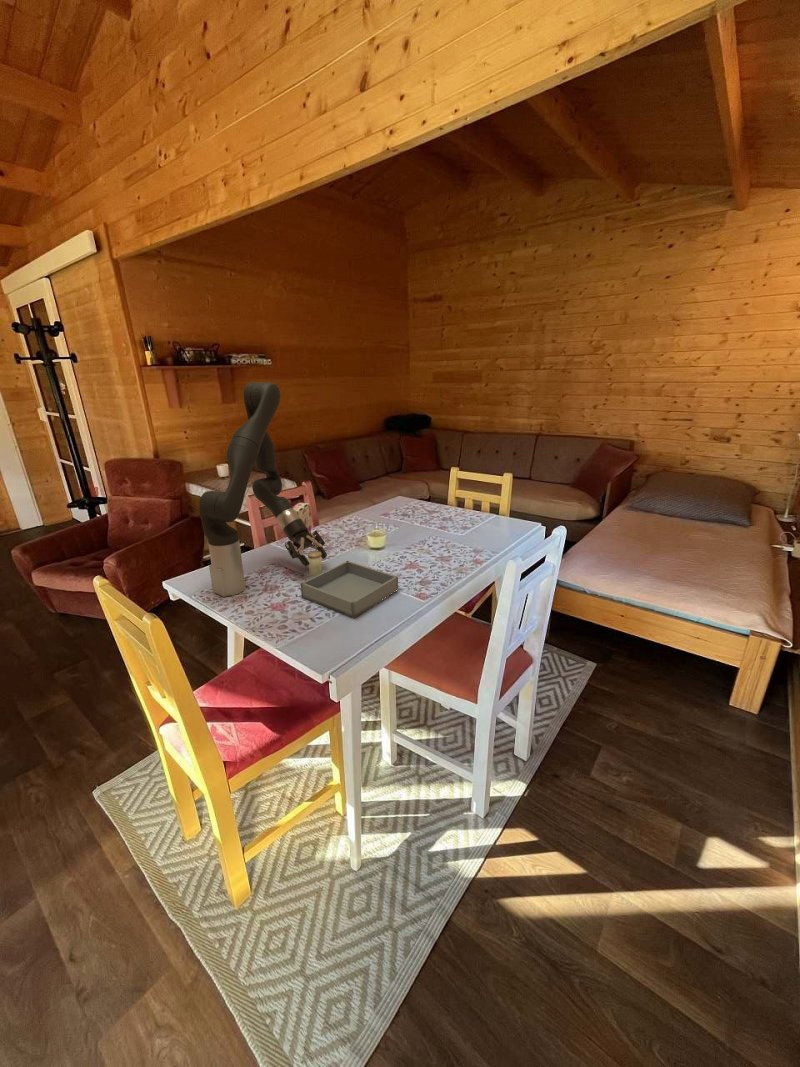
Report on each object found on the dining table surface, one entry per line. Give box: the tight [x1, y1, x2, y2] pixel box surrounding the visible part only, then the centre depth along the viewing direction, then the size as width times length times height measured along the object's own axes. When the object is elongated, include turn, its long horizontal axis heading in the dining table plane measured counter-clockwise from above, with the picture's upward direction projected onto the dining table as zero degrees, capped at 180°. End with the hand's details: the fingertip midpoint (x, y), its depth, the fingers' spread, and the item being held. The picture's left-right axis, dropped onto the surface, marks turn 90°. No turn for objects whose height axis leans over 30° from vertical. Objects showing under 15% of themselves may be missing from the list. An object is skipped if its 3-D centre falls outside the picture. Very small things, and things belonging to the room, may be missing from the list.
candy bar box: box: [289, 502, 312, 549], centre depth 184 cm, size 11×5×16 cm, turn 168°
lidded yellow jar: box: [307, 550, 323, 578], centre depth 158 cm, size 5×5×8 cm
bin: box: [300, 560, 399, 619], centre depth 144 cm, size 22×22×5 cm
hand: (316, 561), depth 157 cm, fingers open, 8 cm apart
